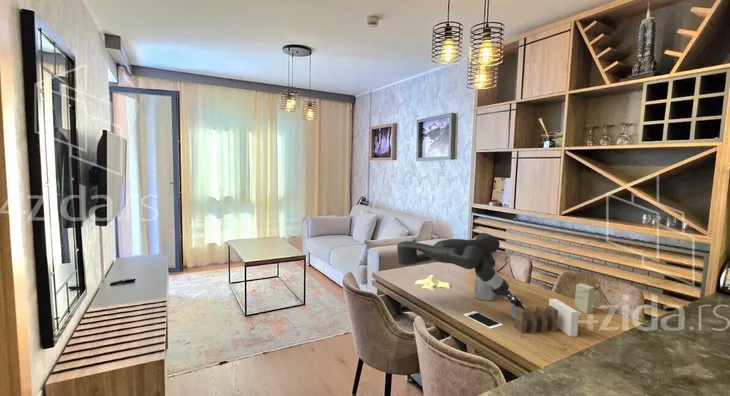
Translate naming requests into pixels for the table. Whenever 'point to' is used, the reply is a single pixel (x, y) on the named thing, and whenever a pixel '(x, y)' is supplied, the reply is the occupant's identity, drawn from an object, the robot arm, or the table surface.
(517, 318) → the walnut domino
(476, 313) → the cell phone
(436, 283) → the cloth
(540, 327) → the walnut domino
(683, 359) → the table surface
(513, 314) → the slate domino
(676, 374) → the table surface
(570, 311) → the block
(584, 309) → the skincare box
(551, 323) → the walnut domino
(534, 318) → the walnut domino
